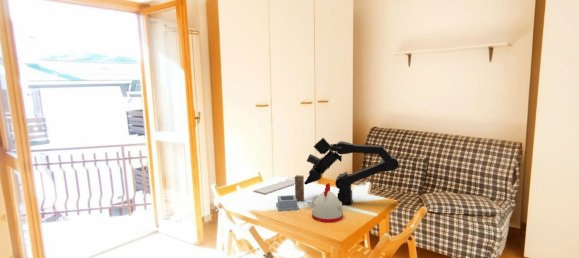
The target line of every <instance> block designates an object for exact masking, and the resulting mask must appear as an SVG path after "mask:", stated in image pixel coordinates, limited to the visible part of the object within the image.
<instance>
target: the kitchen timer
mask: <svg viewBox="0 0 579 258" xmlns="http://www.w3.org/2000/svg"><path fill="white" fill-rule="evenodd" d="M311 218H312V219H313V220H314V221H316V222H320V223H324V224H325V223H328V224H329V223H336V222H337V223H338V222H340V221H342V220H343V218H344V211H343V204H342V202H340V201H339V199H338V196H337V195H336V194H335V193H334V192H332V191H331V183H329V182H327V183H326V184H325V188H324V190H323V191H322V192H320V193H319V195H318V196H317V197H316V198H315V199H314V202H313V203H312V210H311Z"/></svg>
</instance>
